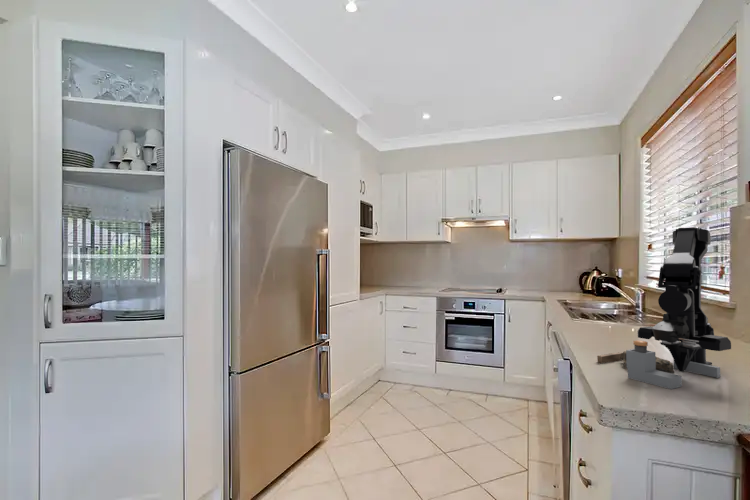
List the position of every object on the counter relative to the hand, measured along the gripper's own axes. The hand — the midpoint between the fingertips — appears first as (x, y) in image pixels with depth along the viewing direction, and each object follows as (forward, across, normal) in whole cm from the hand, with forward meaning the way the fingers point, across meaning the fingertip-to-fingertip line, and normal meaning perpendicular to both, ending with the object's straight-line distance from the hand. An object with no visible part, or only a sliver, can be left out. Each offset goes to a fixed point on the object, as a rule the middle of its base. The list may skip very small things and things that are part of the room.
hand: (681, 371), depth 101 cm
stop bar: (+2, -19, 0) cm, 19 cm away
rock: (+2, -10, +1) cm, 10 cm away
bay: (+2, -1, -1) cm, 2 cm away
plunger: (-2, -4, -10) cm, 11 cm away
